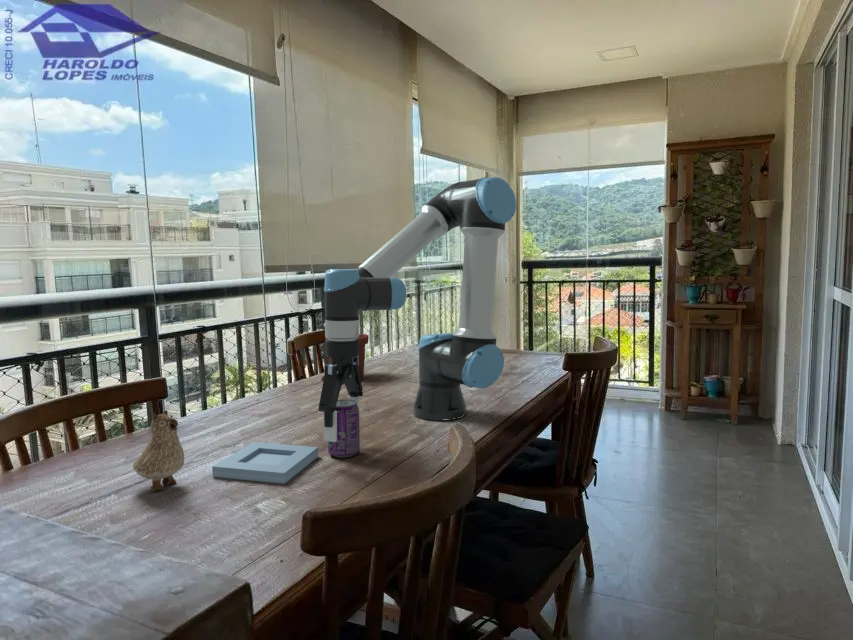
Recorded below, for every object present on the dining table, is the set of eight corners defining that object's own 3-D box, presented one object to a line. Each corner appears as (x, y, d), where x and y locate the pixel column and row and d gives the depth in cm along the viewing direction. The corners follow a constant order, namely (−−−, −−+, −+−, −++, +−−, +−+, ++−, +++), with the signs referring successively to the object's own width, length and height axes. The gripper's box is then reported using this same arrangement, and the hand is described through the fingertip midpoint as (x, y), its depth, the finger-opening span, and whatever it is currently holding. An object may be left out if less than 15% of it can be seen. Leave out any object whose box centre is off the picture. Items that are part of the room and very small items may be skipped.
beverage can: (329, 449, 134) (328, 398, 133) (360, 448, 135) (359, 398, 134) (327, 460, 127) (325, 406, 126) (359, 459, 128) (358, 406, 127)
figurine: (167, 498, 107) (163, 419, 106) (121, 494, 109) (116, 417, 107) (195, 479, 116) (192, 407, 115) (152, 476, 118) (148, 404, 116)
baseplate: (318, 456, 129) (318, 447, 129) (284, 483, 114) (284, 473, 114) (253, 451, 133) (253, 441, 133) (212, 476, 118) (212, 466, 117)
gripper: (346, 331, 141) (346, 416, 143) (301, 345, 117) (302, 447, 119) (375, 332, 139) (375, 418, 142) (336, 347, 115) (336, 450, 117)
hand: (342, 432), depth 130 cm, fingers open, 13 cm apart
